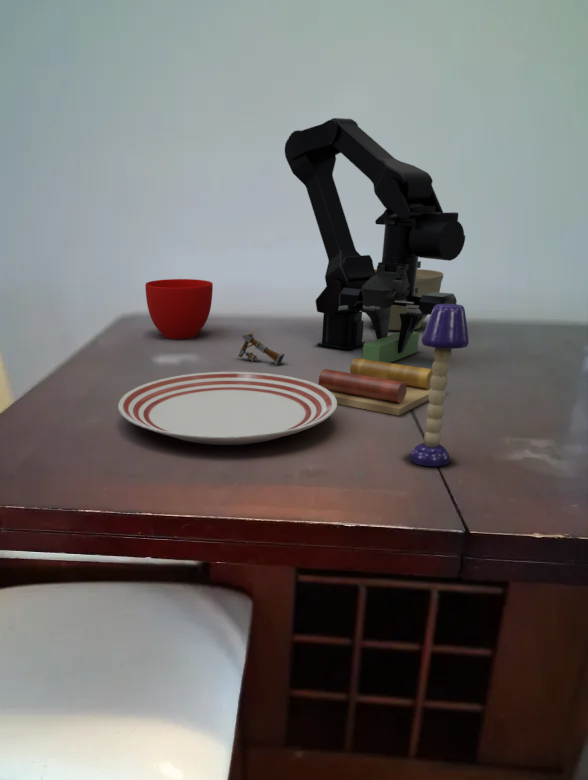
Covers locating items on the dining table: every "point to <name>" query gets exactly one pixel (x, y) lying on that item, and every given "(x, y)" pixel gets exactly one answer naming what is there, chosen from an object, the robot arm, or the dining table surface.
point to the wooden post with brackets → (261, 347)
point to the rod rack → (379, 386)
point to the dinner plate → (228, 407)
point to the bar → (389, 348)
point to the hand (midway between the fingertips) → (391, 351)
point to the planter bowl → (426, 284)
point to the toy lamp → (440, 377)
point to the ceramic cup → (179, 306)
